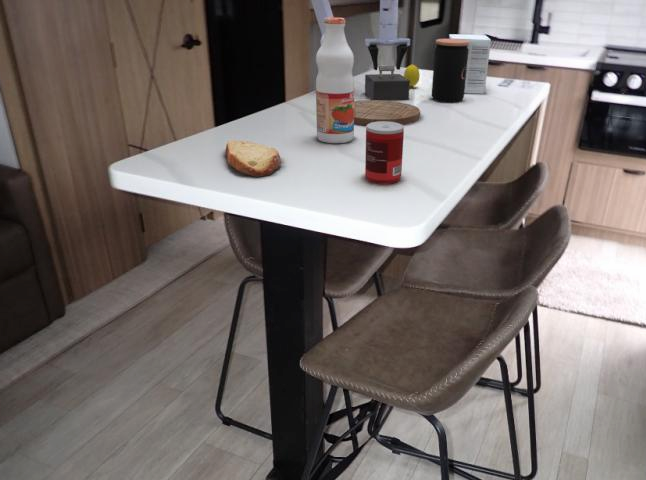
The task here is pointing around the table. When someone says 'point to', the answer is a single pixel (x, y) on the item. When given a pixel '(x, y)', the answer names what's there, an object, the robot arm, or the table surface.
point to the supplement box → (476, 61)
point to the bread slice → (252, 158)
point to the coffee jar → (450, 70)
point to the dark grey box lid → (387, 76)
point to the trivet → (384, 112)
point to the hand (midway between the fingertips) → (386, 69)
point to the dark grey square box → (386, 90)
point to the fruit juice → (335, 85)
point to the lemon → (412, 75)
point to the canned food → (384, 152)
